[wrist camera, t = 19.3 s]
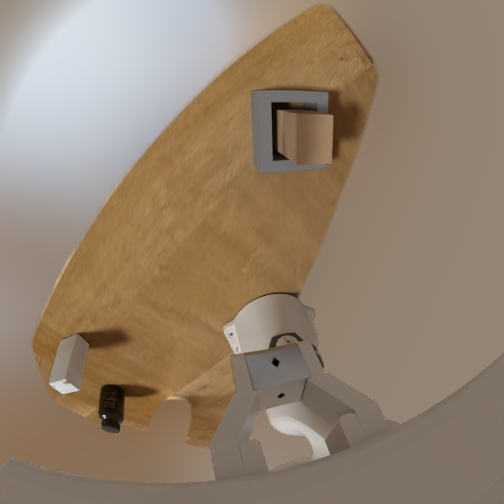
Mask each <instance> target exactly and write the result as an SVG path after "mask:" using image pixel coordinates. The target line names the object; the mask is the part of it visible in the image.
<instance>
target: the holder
mask: <svg viewBox="0 0 504 504" xmlns="http://www.w3.org/2000/svg"><path fill="white" fill-rule="evenodd" d="M271 102H305V110H311V111H316V112H321V113H326V114H328V92H317V91H294V90H259V91H251V104H252V126H253V149H254V166H255V167H256V168H257V169H258V170H259V172H260V173H272V172H284V171H298V170H315V169H326V168H327V164H314V165H297V164H295V163H294V162H292V161H291V160H289V159H288V158H287V157H285V156H284V155H282V154H281V153H277V154H272V116H271Z"/></svg>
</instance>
